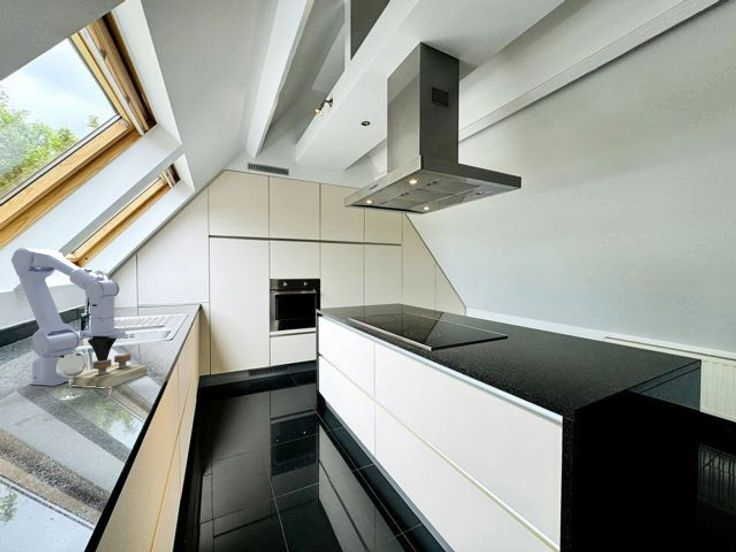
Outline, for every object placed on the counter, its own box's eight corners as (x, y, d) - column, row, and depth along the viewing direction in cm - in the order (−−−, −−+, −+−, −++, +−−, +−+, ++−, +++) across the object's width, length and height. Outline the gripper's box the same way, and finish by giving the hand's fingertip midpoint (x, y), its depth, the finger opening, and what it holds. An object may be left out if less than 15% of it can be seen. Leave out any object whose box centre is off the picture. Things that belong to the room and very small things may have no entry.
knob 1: (89, 378, 96) (89, 361, 95) (103, 373, 100) (103, 358, 100) (101, 378, 95) (101, 362, 95) (114, 374, 99) (115, 358, 99)
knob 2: (110, 371, 102) (110, 356, 102) (122, 367, 107) (122, 352, 107) (122, 371, 102) (122, 356, 102) (133, 367, 106) (134, 353, 106)
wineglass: (51, 399, 85) (51, 356, 85) (77, 392, 90) (77, 352, 90) (63, 403, 83) (63, 359, 83) (89, 395, 88) (89, 354, 88)
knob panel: (68, 386, 95) (68, 376, 95) (111, 371, 109) (111, 363, 109) (108, 388, 93) (108, 379, 93) (146, 373, 107) (146, 365, 107)
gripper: (69, 318, 94) (69, 362, 94) (110, 320, 92) (110, 364, 93) (92, 315, 101) (92, 356, 101) (131, 317, 99) (131, 358, 99)
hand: (102, 360), depth 97 cm, fingers closed
